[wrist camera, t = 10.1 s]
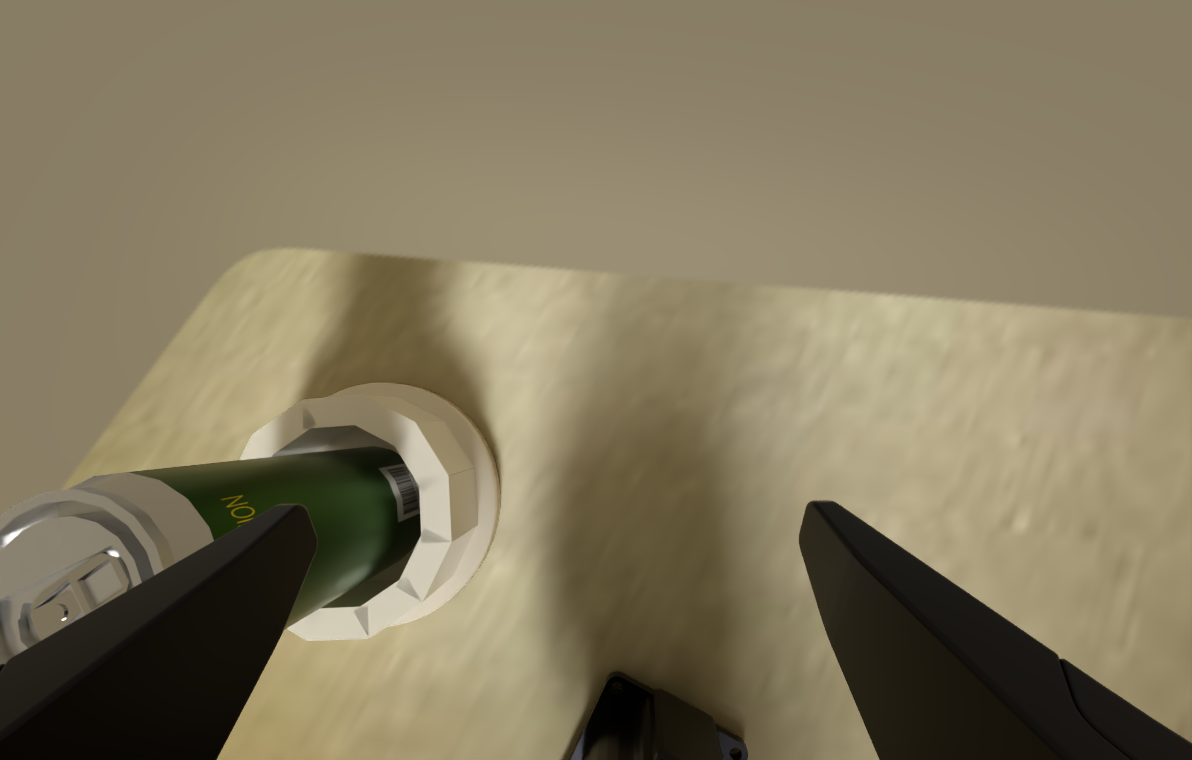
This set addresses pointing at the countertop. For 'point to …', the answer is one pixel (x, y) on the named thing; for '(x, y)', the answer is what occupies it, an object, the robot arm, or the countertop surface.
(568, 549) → the countertop surface
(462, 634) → the countertop surface
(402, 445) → the can holder
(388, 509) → the beer can
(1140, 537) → the countertop surface
